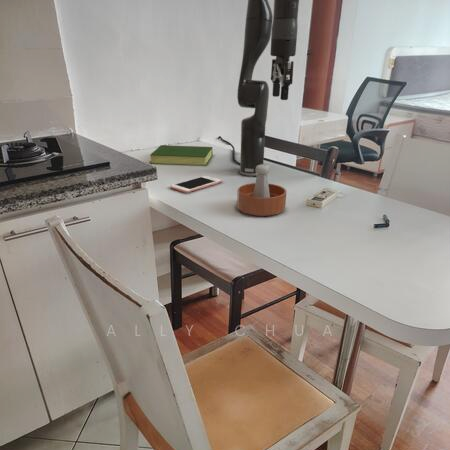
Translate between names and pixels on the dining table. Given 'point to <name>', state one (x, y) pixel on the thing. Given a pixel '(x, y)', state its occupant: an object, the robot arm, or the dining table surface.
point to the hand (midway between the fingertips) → (279, 98)
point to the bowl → (261, 200)
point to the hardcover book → (181, 155)
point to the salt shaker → (262, 182)
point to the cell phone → (195, 184)
